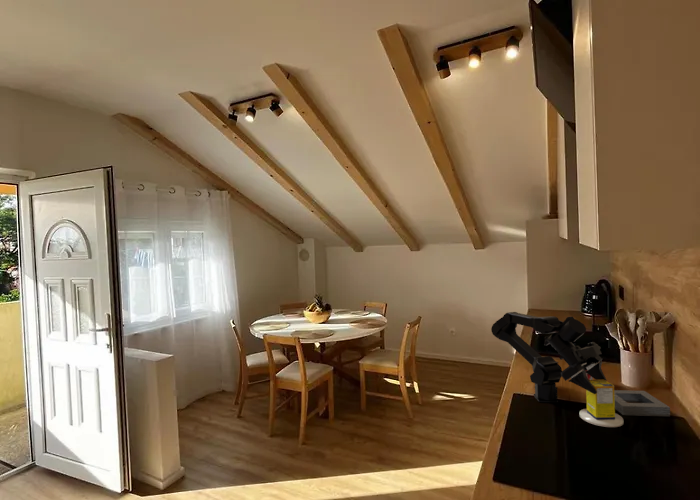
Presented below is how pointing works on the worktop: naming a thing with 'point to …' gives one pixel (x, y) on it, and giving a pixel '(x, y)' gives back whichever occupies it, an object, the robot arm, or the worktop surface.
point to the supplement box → (601, 400)
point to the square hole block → (639, 404)
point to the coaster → (605, 423)
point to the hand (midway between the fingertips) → (602, 389)
